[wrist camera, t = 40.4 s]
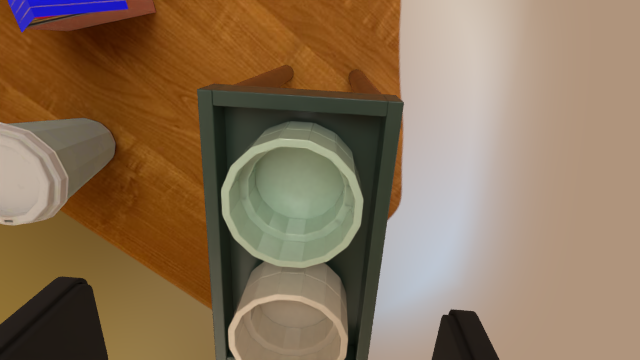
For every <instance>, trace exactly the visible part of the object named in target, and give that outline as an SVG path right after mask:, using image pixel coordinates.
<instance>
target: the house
mask: <svg viewBox="0 0 640 360" xmlns="http://www.w3.org/2000/svg"><path fill="white" fill-rule="evenodd" d="M8 2H9V5H10V7H11V9H12V11H13V14H14V16H15V18H16V20H17V23H18V25H19V27H20V29H21V32H23V31H24V30H25V29H41V30H60V31H71V30H76V29H81V28H85V27H90V26H95V25H99V24H104V23H108V22H113V21H118V20H122V19H127V18H132V17H136V16H141V15H145V14H150V13H155V12H156V10H155V7H154V3H153V0H8Z"/></svg>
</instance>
